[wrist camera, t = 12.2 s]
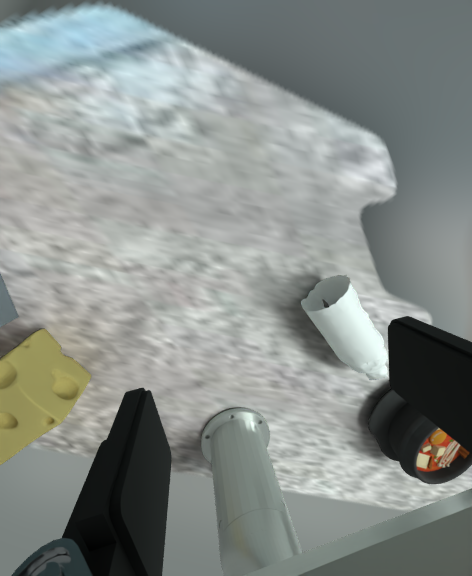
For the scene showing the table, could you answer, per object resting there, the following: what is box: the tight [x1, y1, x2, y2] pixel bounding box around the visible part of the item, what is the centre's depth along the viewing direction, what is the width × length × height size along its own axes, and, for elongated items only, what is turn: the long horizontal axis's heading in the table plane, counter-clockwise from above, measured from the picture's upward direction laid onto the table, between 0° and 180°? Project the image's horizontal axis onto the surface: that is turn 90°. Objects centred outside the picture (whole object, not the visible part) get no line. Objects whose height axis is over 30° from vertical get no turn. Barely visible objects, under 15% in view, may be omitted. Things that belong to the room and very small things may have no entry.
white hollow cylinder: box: [301, 275, 388, 380], centre depth 40 cm, size 8×19×8 cm, turn 37°
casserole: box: [368, 389, 472, 484], centre depth 49 cm, size 25×19×8 cm
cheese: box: [0, 329, 91, 465], centre depth 33 cm, size 10×11×10 cm
